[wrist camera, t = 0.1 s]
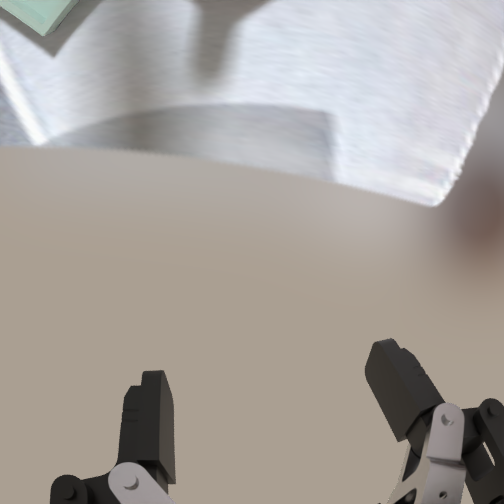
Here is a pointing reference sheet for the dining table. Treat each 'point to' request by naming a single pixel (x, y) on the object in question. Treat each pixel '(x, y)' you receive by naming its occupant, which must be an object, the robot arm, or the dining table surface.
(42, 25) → the tray
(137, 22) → the dining table surface
